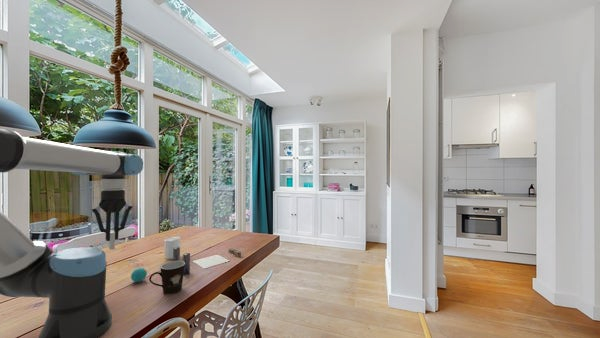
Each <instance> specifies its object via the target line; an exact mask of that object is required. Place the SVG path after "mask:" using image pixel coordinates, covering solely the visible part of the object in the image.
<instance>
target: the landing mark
mask: <svg viewBox="0 0 600 338" xmlns="http://www.w3.org/2000/svg"><path fill="white" fill-rule="evenodd" d="M228 261H229V262H230V259H227V258H225V257H223V256H221V255H219V254H215V255H210V256H206V257H202V258H199V259H196V260H192V262H193V264H195V265H197V266H198V267H200V268H202V269H203V270H205V269H208V268H211V267H214V266H215V267H216V266H218V265H222V264H225V262H226V263H228Z"/></svg>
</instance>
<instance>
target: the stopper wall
mask: <svg viewBox="0 0 600 338" xmlns="http://www.w3.org/2000/svg"><path fill="white" fill-rule="evenodd" d="M229 253H231V254H233V255H232V256H234V255H235V256H234V257H236V256H237V257H236V258H240V257H239V256H241V257H242V251H240V250H237V249H235V248H228V254H229ZM231 254H230V255H231Z"/></svg>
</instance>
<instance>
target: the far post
mask: <svg viewBox="0 0 600 338" xmlns="http://www.w3.org/2000/svg"><path fill="white" fill-rule="evenodd" d="M180 258H181V246H180V247H175V248H173V259H172V261H181V259H180Z"/></svg>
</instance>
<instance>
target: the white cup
mask: <svg viewBox="0 0 600 338" xmlns="http://www.w3.org/2000/svg"><path fill="white" fill-rule="evenodd" d="M163 244H164V245H163V246H164V258H165V259H167V260H173V248H175V247H180V248H181V237H179V236H173V237H167V238H165V239H164V243H163Z"/></svg>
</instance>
